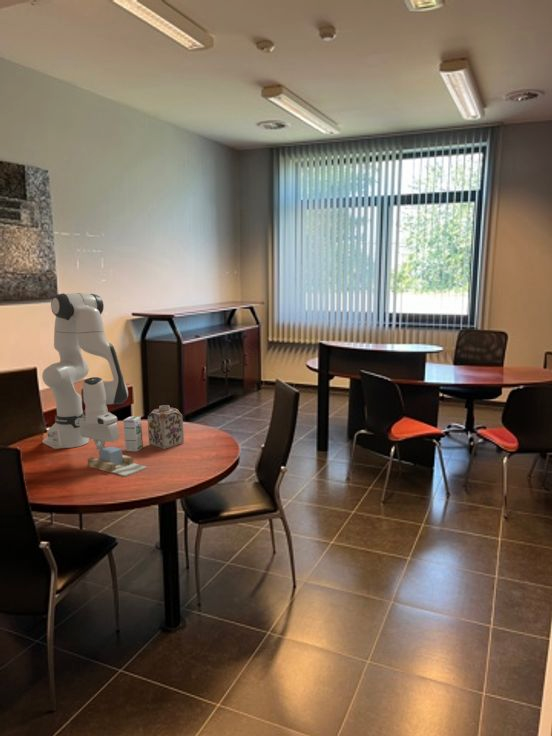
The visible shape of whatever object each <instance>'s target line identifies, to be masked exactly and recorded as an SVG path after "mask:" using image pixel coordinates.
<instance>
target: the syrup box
mask: <svg viewBox="0 0 552 736" xmlns="http://www.w3.org/2000/svg"><path fill="white" fill-rule="evenodd" d="M141 418H142V417H141V416H137V415H135V416H128V417H126V418H125V419H123V420H122V422H123V434H124V443H125V451H126V452H139V451H140V450H141V449H143V448H144V444H143V443H144V441H143V429H142V419H141Z"/></svg>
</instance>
